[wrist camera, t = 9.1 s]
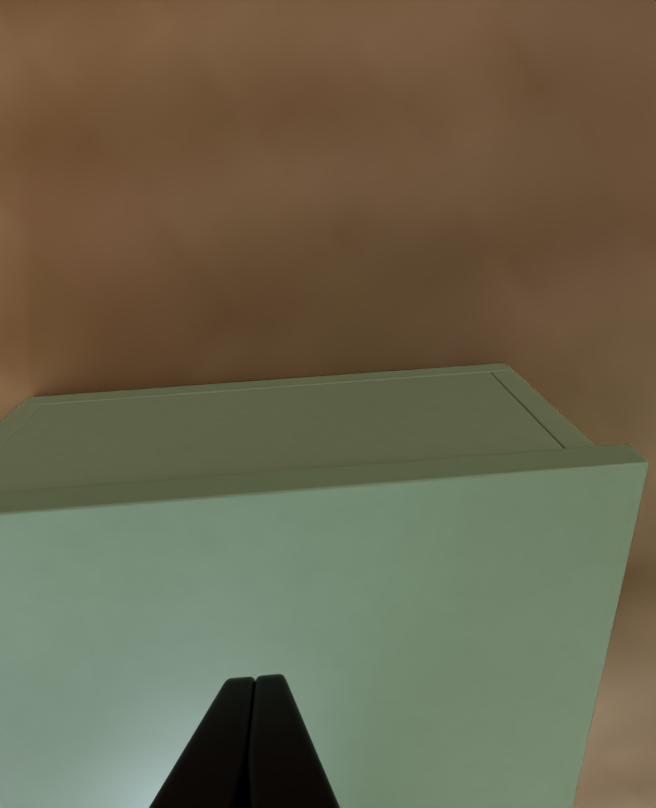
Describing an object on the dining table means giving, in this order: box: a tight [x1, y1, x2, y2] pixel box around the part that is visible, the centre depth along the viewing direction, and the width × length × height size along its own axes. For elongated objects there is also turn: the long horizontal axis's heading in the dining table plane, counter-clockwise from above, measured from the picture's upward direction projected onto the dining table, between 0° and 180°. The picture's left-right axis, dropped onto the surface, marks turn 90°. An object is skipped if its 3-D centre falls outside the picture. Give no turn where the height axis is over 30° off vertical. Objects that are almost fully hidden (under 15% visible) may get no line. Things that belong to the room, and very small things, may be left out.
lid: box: [0, 444, 649, 808], centre depth 13 cm, size 14×14×1 cm
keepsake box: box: [0, 363, 596, 493], centre depth 17 cm, size 13×14×6 cm
